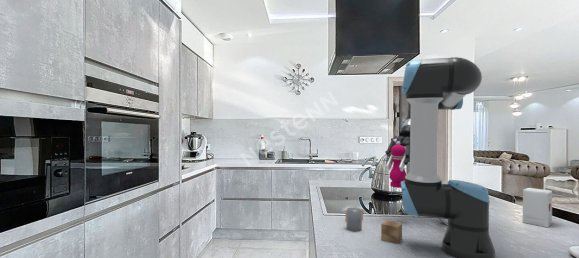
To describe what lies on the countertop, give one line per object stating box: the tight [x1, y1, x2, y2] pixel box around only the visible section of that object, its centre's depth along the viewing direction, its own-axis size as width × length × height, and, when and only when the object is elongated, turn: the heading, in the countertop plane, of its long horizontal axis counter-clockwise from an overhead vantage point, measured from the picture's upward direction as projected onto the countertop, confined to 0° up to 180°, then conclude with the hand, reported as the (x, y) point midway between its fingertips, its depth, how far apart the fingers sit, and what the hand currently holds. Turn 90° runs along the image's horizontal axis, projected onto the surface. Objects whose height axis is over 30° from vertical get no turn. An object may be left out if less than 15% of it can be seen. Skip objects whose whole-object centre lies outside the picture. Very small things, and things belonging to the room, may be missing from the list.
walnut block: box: [380, 219, 403, 245], centre depth 108 cm, size 6×6×6 cm
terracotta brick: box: [344, 207, 364, 223], centre depth 130 cm, size 4×8×5 cm, turn 135°
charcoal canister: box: [346, 207, 363, 233], centre depth 119 cm, size 6×6×8 cm
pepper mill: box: [388, 141, 407, 189], centre depth 128 cm, size 7×7×20 cm
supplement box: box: [522, 187, 553, 228], centre depth 130 cm, size 9×9×15 cm
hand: (394, 168), depth 125 cm, fingers closed on pepper mill, 5 cm apart
